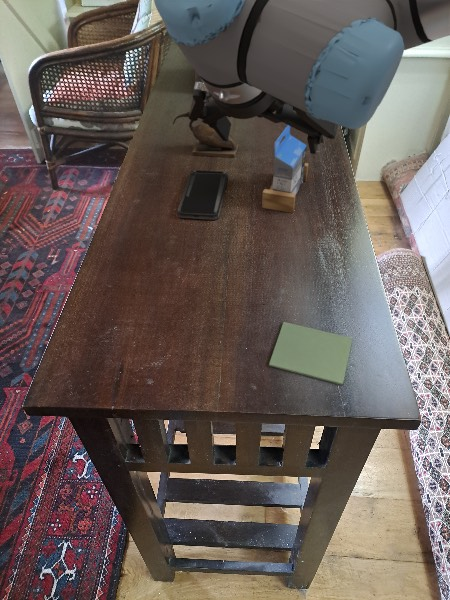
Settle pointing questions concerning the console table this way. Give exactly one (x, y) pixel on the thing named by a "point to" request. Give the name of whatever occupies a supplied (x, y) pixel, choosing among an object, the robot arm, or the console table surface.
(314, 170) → the console table surface
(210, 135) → the figurine
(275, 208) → the tape holder
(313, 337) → the felt pad
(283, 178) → the blue grey carton
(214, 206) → the phone
